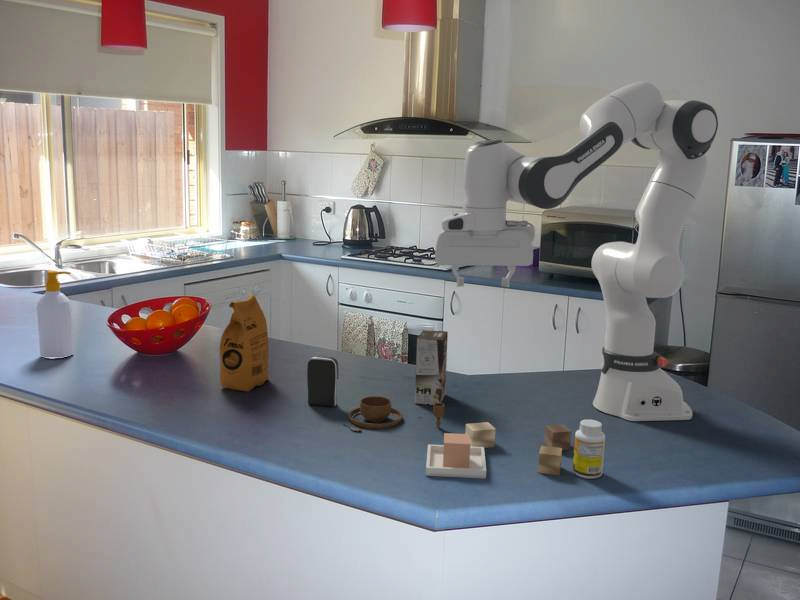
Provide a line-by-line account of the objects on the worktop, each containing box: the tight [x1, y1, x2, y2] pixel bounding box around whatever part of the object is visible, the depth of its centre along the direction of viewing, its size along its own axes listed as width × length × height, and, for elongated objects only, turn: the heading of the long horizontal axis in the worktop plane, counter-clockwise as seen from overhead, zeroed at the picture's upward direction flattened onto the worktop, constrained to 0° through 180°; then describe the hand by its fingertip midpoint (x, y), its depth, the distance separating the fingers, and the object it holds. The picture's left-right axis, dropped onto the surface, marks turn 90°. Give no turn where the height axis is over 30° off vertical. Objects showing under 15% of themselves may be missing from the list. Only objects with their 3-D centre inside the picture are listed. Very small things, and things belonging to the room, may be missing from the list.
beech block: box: [464, 421, 496, 449], centre depth 160 cm, size 5×4×4 cm
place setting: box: [348, 395, 445, 433], centre depth 170 cm, size 18×20×6 cm
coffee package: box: [219, 294, 269, 392], centre depth 193 cm, size 10×12×22 cm
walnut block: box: [544, 424, 572, 451], centre depth 160 cm, size 4×4×4 cm
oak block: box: [537, 445, 563, 476], centre depth 148 cm, size 4×4×4 cm
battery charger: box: [306, 355, 339, 408], centre depth 181 cm, size 7×4×11 cm, turn 75°
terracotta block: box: [443, 432, 470, 468], centre depth 149 cm, size 5×5×5 cm
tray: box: [425, 443, 487, 480], centre depth 150 cm, size 11×11×2 cm
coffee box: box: [414, 329, 449, 406], centre depth 186 cm, size 9×6×16 cm
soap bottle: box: [36, 270, 75, 357], centre depth 213 cm, size 9×9×24 cm
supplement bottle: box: [572, 419, 606, 480], centre depth 146 cm, size 6×6×10 cm
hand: (482, 286), depth 162 cm, fingers open, 8 cm apart
